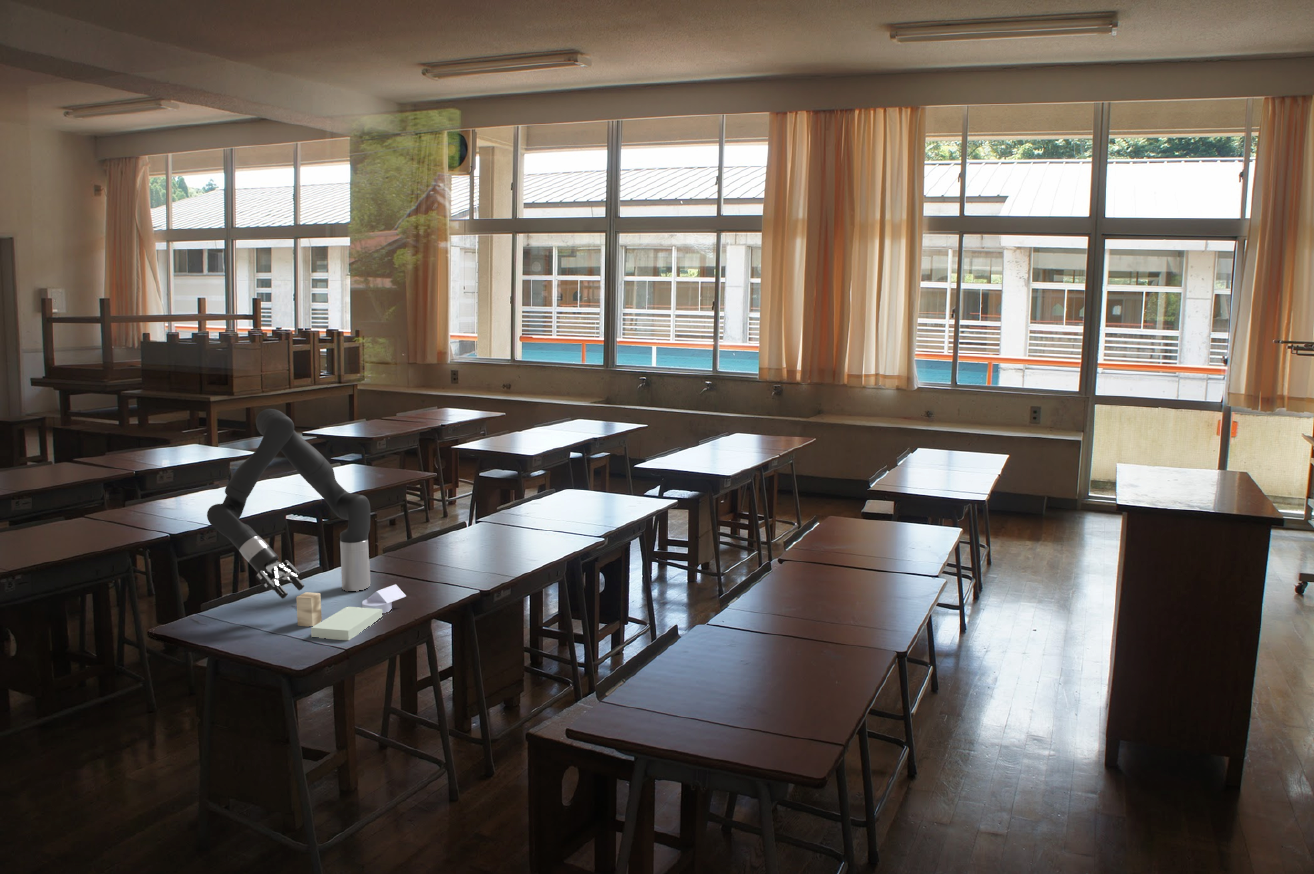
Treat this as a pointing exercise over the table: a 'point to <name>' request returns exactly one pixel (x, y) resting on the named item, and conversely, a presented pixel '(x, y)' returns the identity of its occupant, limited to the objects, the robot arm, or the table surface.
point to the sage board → (346, 623)
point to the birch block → (309, 609)
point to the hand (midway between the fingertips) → (293, 592)
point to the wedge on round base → (383, 598)
